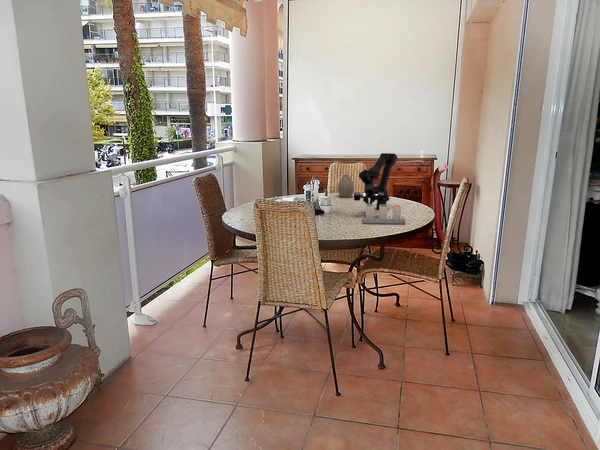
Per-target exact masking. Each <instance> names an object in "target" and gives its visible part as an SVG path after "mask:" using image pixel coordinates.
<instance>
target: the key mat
mask: <svg viewBox="0 0 600 450" xmlns="http://www.w3.org/2000/svg"><path fill="white" fill-rule="evenodd" d="M361 219H362V220H361V221H362V225H391V226H392V225H393V226H396V225H400V226H401V225H403V226H405V225H406V222H405V223H363V217H362V218H361Z"/></svg>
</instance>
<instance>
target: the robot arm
mask: <svg viewBox="0 0 600 450" xmlns="http://www.w3.org/2000/svg"><path fill="white" fill-rule="evenodd" d="M397 160H398V155H397V154H396V153H393V152H392V153H389V152H386V153H385V152H384V153H383V152H382V153H380V154H379V158H378V159H377V161H376V162H375V163H374V165H373V166H372V167H370V168H369V169H363V170H362V171H360V172H359V173H358V177H359V179H360V181H361V182H362V183H363V184H364V193H363V194H361V192H360V191H356V192H355V191H354V193H353V201H355V202H357V201H358V202H359V201H360V200H361V199H363V200H362V202H363V203H365V205H367V204H373V203H374V202H375V201H376V207H375V208H374V210H378V211H379V205H380V204H386V205H387V202H389V201H390V196H389V194H388V191H389V190H388V188H387V186H388V182H389V179H390V174H391V171H392V167H394V165H395V164H396V162H397ZM381 169H382V174H381V173H380V171H381ZM380 176H381V177H380ZM379 178H380V180H379V181H380V182H379V184H378V185H377V183H375V182H374V180H378V179H379ZM387 210H389V208H388V207H387Z"/></svg>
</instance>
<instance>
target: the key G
mask: <svg viewBox="0 0 600 450" xmlns="http://www.w3.org/2000/svg"><path fill="white" fill-rule="evenodd" d="M374 207H375V205H374V204H373V203H372V204H365V218H374V213H375V212H374V210H375V208H374Z"/></svg>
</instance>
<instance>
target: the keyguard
mask: <svg viewBox="0 0 600 450" xmlns="http://www.w3.org/2000/svg"><path fill="white" fill-rule="evenodd" d="M362 218H363V222H362V224H363V223H405V224H406V220H407V219H406V218H404V215H401V219H398V218H392V217H391V215H389V216H388V217H387V218H379V217H378V216H377V215H375V217H373V218H366V217H365V215H362Z"/></svg>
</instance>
